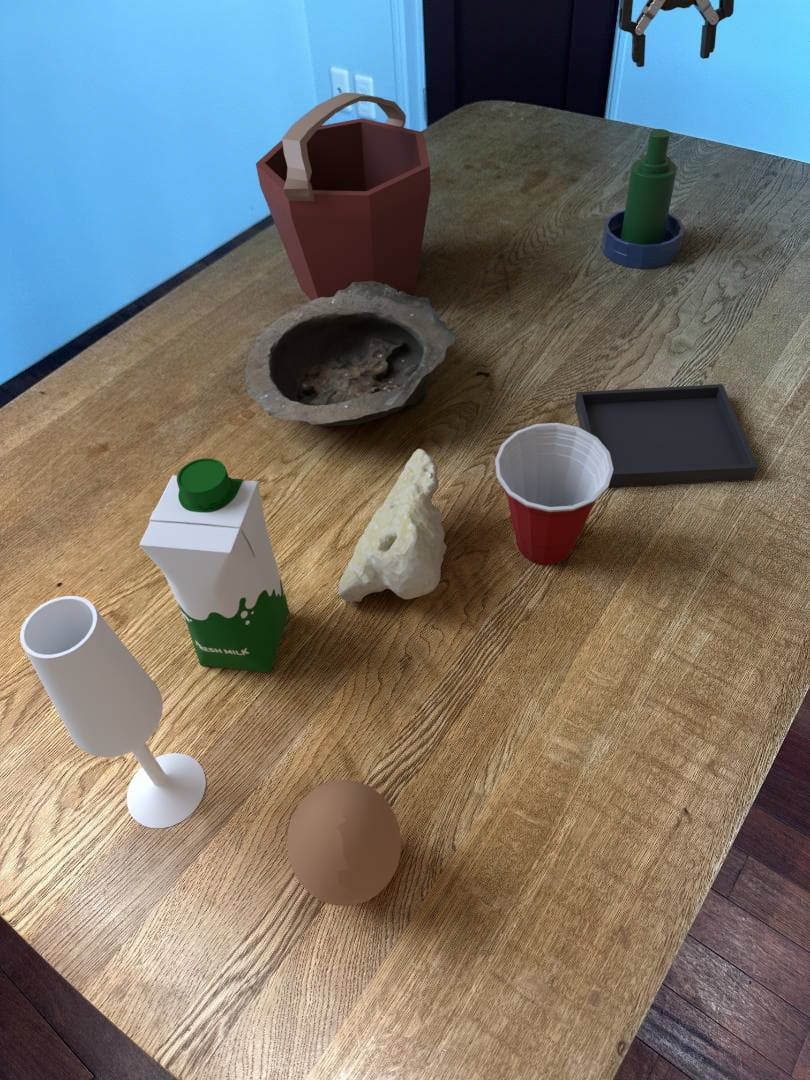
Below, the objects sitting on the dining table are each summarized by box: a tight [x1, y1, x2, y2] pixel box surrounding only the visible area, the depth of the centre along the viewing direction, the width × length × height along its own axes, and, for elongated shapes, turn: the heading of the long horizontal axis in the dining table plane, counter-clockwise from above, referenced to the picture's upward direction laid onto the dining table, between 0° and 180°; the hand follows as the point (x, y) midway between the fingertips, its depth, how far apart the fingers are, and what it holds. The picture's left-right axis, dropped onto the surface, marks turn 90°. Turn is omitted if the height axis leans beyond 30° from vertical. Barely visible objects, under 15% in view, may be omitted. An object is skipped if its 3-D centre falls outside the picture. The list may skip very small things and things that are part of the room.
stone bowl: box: [244, 281, 457, 427], centre depth 99 cm, size 25×25×9 cm
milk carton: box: [139, 457, 290, 674], centre depth 71 cm, size 9×9×20 cm
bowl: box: [601, 209, 685, 270], centre depth 118 cm, size 11×11×4 cm
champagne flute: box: [19, 595, 207, 829], centre depth 60 cm, size 7×7×24 cm
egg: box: [286, 779, 402, 907], centre depth 59 cm, size 8×8×11 cm
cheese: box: [338, 448, 448, 603], centre depth 81 cm, size 15×7×15 cm
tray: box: [574, 383, 759, 488], centre depth 92 cm, size 17×14×2 cm
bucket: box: [255, 92, 432, 302], centre depth 109 cm, size 24×22×25 cm
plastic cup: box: [494, 422, 614, 566], centre depth 79 cm, size 11×11×12 cm
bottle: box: [621, 128, 678, 245], centre depth 113 cm, size 6×6×16 cm
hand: (672, 62), depth 110 cm, fingers open, 8 cm apart
